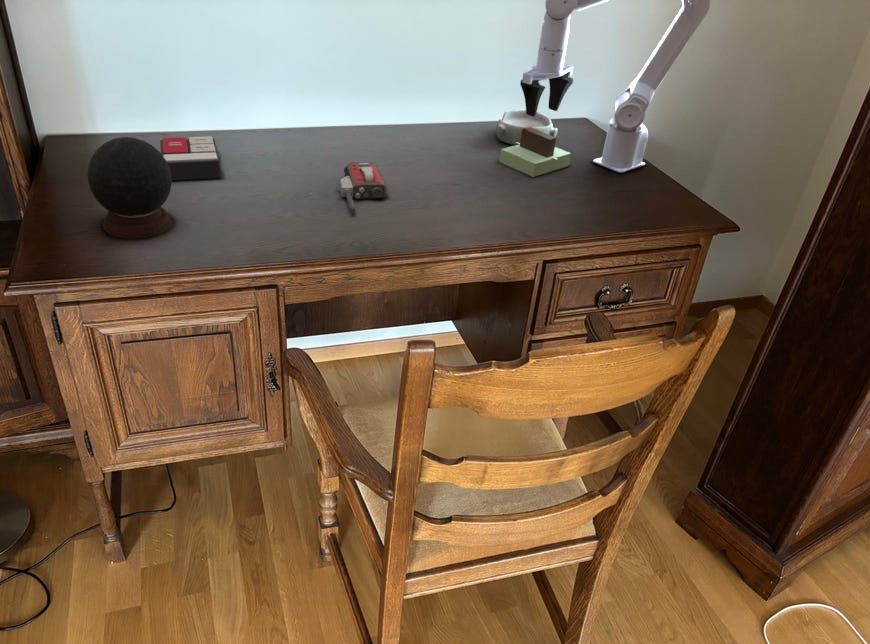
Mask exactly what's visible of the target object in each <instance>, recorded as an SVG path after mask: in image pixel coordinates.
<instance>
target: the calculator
mask: <svg viewBox="0 0 870 644" xmlns="http://www.w3.org/2000/svg"><path fill="white" fill-rule="evenodd" d="M159 143H160V153H161V154H162V156H163V157H164V158H165V160H166V161H167V164H168V166H169V168H170V173H171V181H187V180H206V179H221V178H223V177H222V168H221V167H222V165H221V159H220V155H219V151H218V148H217V147H218V146H217V143H216V140H215V138H213V136H210V135H208V136H207V135H206V136H189V137H188V138H187V137H185V136H179V137H162V139H161V140H160V141H159Z"/></svg>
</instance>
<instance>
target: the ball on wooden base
mask: <svg viewBox="0 0 870 644" xmlns="http://www.w3.org/2000/svg"><path fill="white" fill-rule="evenodd" d="M87 166H88V167H87V183H88V186H89V190H90V191H91V193H92V195H93V197H94V198H95V200H96V201H97V202H98V203H99V204H100V206H101V207H103V208H104V209H106V211H108V212H107V213H106V215H105V217H104V218H103V219H102V226H103V230H104V231H105V232H106V233H107V234H109V235H110V236H113V237H115V238H120V239H127V240H128V239H129V240H131V239H132V240H135V239H137V240H138V239H144V238H150V237H154V236H158V235H160V234H163V233H164V232H166V231H167V230H169V228H170V227H171V225H172V217H171V215H170V213H169V212H167V210H166V209H164V207H163V205H165V203H166V202H167V200H168V198H169V195H170V193H171V190H172V184H173V183H172V180H171V173H170V168H169V166H168V164H167V161H166V160H165V158H164V157H163V156H162V154H161V151H159V150H158V149H157V148H156V146H154V145H152V144H150V143H149V142H147V141H145V140H142V139H140V138H136V137H129V136H123V137H115V138H113V139H110V140H108V141H106V142H104V143H103V144H101V145H100V146H99V147H98V148H97V149H96V150H95V151H94V153H93V154H92V156H91V157H90V160H89V163H88V165H87Z"/></svg>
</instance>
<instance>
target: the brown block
mask: <svg viewBox="0 0 870 644" xmlns="http://www.w3.org/2000/svg"><path fill="white" fill-rule="evenodd" d="M556 143H557V137H556V136H555V137H553V136H551V135H548V134H546V133H543V132H541V131H538V130H535V129H533V127H530V126H528V127H524V128H523V129H522V134H521V141H520V147H523V148H525V149H528V150H530V151H532V152H535V153H537V154H540V155H542V156H544V157H550V156H553V154H554V149H555V147H556Z"/></svg>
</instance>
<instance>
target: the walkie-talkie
mask: <svg viewBox="0 0 870 644" xmlns="http://www.w3.org/2000/svg"><path fill="white" fill-rule="evenodd" d="M343 173H344V177H343V178H341V179H340V182H339V183H340V184H339V186H340V187H339V188H340V192H341V194H340V195H341V197H342V198H346V201H347V204H348V207H349V209H350V211H352V212H355V211H356V210H357V209H356V205H355V202H354V200H353V198H354V199H356V200H363V199H364V200H365V199H366V200H368V199H369V200H372V199H373V200H374V199H384V198H386V196H387V184H386V181H385V179H384V177H383V175H382V172H381V170H380V168H379V166H378V164H376V163H374V162H373V161H358V162H357V161H354V162H350V163H348V164H346V166H344V168H343Z"/></svg>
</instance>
